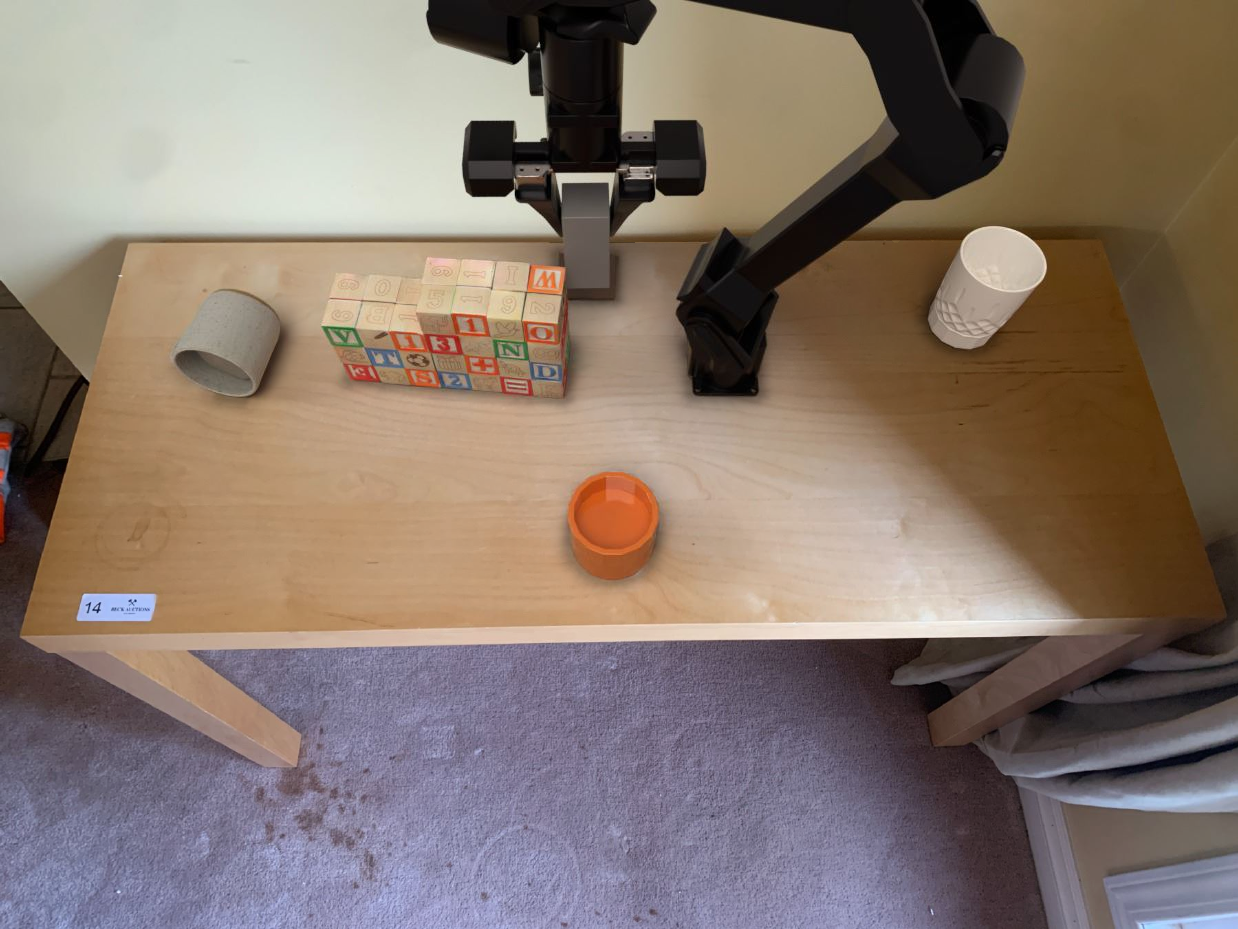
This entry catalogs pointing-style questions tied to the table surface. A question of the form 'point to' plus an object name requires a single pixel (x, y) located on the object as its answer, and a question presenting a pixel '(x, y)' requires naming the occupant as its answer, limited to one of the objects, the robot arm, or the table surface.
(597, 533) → the cup
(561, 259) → the coaster
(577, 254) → the block
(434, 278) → the stack of blocks
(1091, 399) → the table surface
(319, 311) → the table surface
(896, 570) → the table surface
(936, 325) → the white cup
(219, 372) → the ceramic mug
